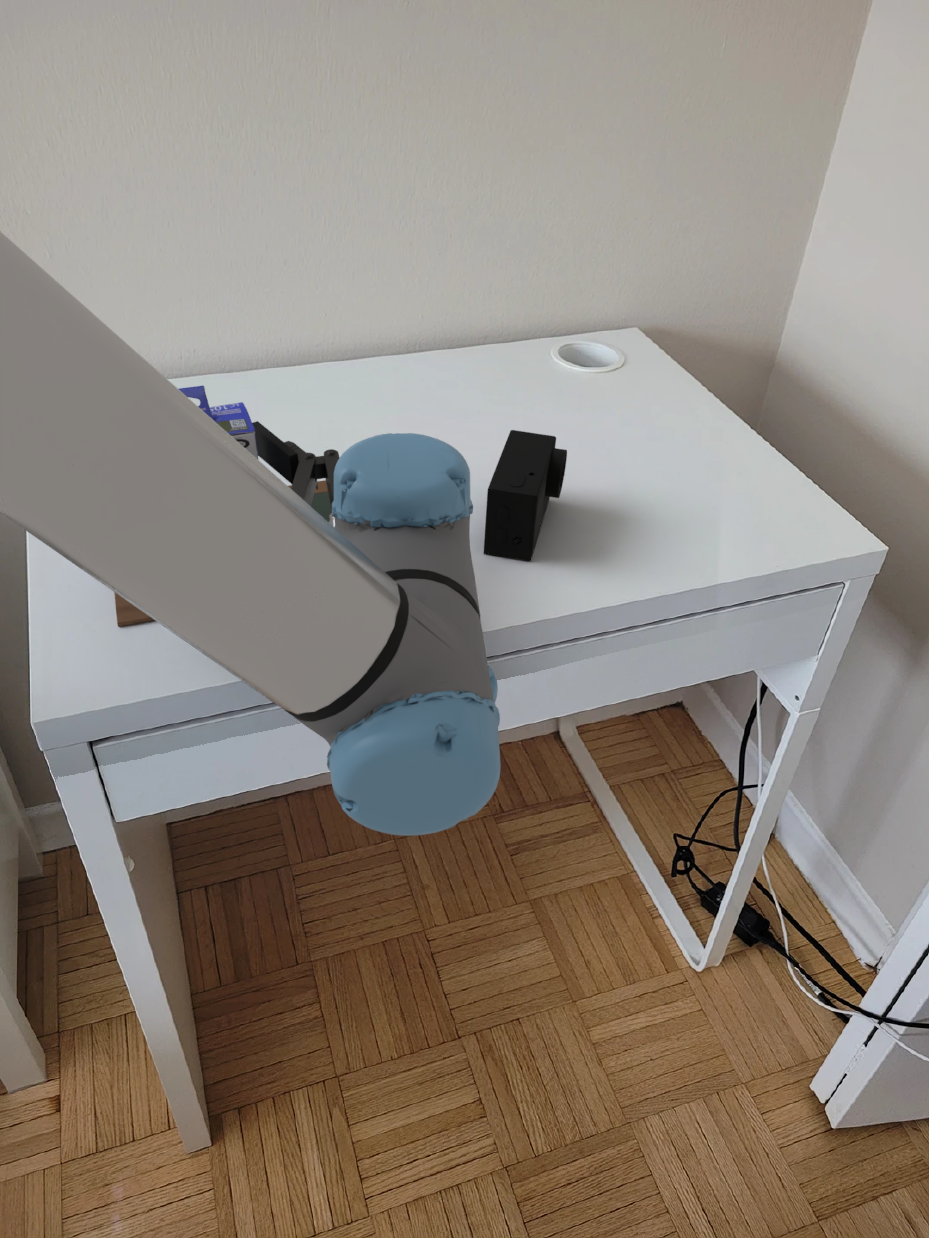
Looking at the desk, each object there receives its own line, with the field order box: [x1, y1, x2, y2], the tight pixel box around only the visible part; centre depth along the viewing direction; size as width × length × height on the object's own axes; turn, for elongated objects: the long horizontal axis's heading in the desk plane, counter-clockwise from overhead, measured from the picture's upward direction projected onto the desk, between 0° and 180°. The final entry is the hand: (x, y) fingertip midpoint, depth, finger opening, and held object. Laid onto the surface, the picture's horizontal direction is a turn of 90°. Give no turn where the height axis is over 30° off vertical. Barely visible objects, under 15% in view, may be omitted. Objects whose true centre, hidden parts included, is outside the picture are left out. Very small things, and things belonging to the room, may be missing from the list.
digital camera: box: [483, 429, 568, 562], centre depth 85 cm, size 10×5×7 cm, turn 167°
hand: (182, 460), depth 78 cm, fingers open, 13 cm apart
